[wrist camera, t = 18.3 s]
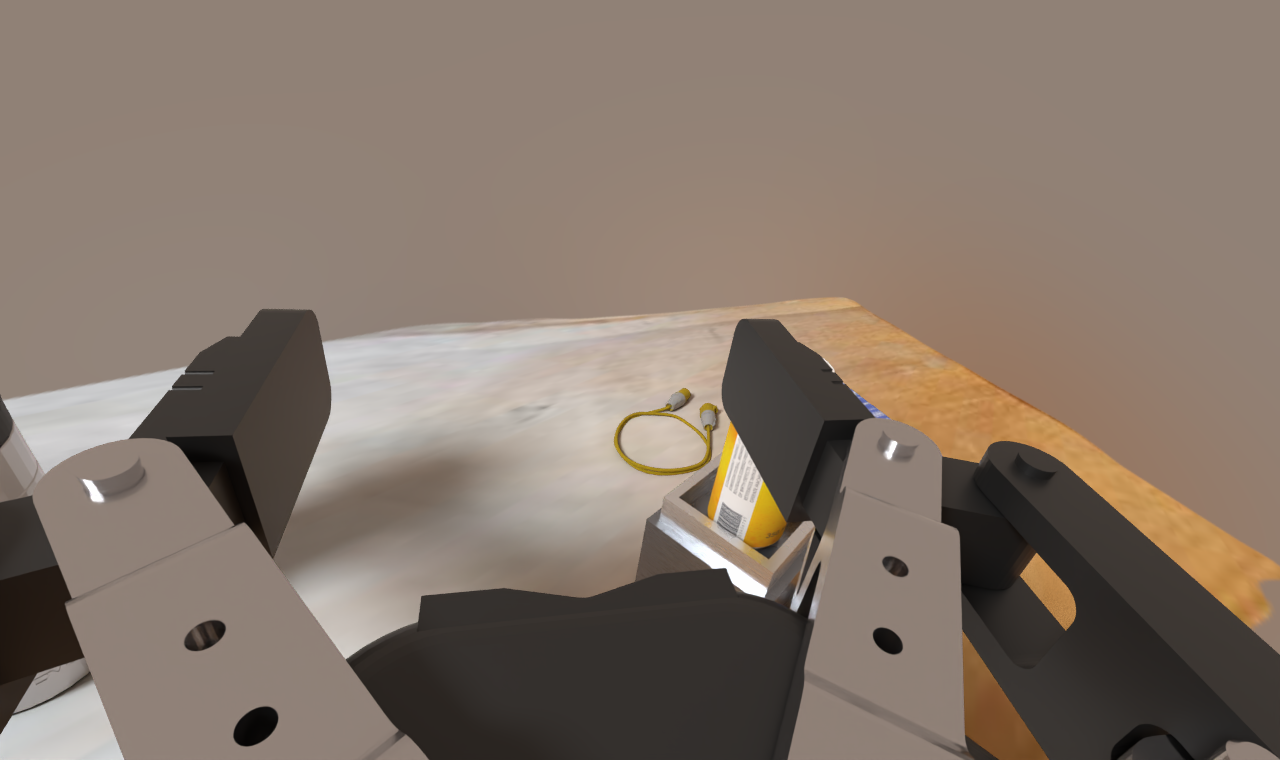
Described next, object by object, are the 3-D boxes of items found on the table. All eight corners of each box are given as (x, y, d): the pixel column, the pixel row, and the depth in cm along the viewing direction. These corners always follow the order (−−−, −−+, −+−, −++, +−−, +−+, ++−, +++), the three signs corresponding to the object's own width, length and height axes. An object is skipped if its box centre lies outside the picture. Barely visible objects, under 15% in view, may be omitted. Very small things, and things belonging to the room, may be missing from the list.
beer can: (792, 521, 46) (853, 365, 38) (762, 568, 42) (824, 402, 34) (726, 486, 49) (770, 332, 41) (691, 527, 44) (733, 363, 36)
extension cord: (754, 447, 68) (758, 434, 67) (651, 494, 59) (654, 479, 58) (687, 395, 76) (690, 382, 75) (587, 429, 67) (589, 416, 66)
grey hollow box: (634, 585, 49) (650, 496, 43) (708, 520, 56) (730, 437, 51) (788, 713, 41) (832, 624, 36) (850, 618, 49) (894, 533, 43)
